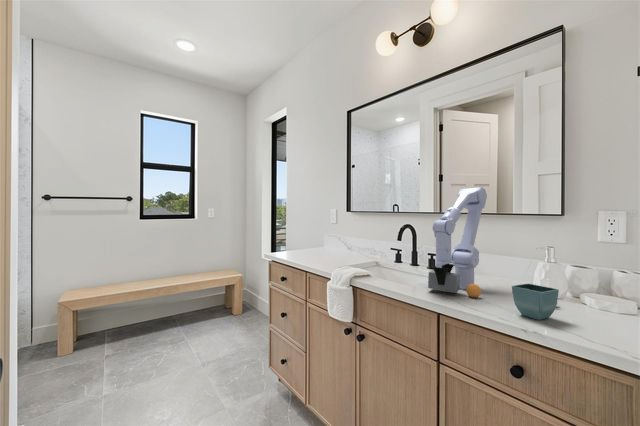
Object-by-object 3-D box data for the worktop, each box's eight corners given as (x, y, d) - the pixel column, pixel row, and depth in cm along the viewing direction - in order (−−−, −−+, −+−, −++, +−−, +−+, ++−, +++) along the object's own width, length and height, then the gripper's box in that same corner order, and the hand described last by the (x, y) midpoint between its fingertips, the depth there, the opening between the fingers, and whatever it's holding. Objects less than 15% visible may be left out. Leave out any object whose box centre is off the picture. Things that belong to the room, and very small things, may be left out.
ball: (483, 285, 107) (479, 297, 108) (469, 280, 110) (465, 292, 111) (482, 288, 103) (477, 301, 104) (467, 283, 106) (463, 295, 107)
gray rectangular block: (432, 285, 119) (433, 270, 119) (459, 289, 113) (459, 273, 113) (428, 287, 114) (428, 272, 114) (456, 293, 108) (456, 276, 108)
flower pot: (510, 314, 88) (510, 285, 89) (528, 310, 92) (528, 282, 92) (541, 323, 80) (541, 292, 80) (559, 319, 84) (559, 289, 84)
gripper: (449, 251, 105) (449, 288, 105) (458, 248, 117) (458, 281, 117) (430, 250, 110) (430, 285, 110) (440, 247, 121) (440, 279, 121)
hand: (443, 283), depth 113 cm, fingers closed on gray rectangular block, 6 cm apart
